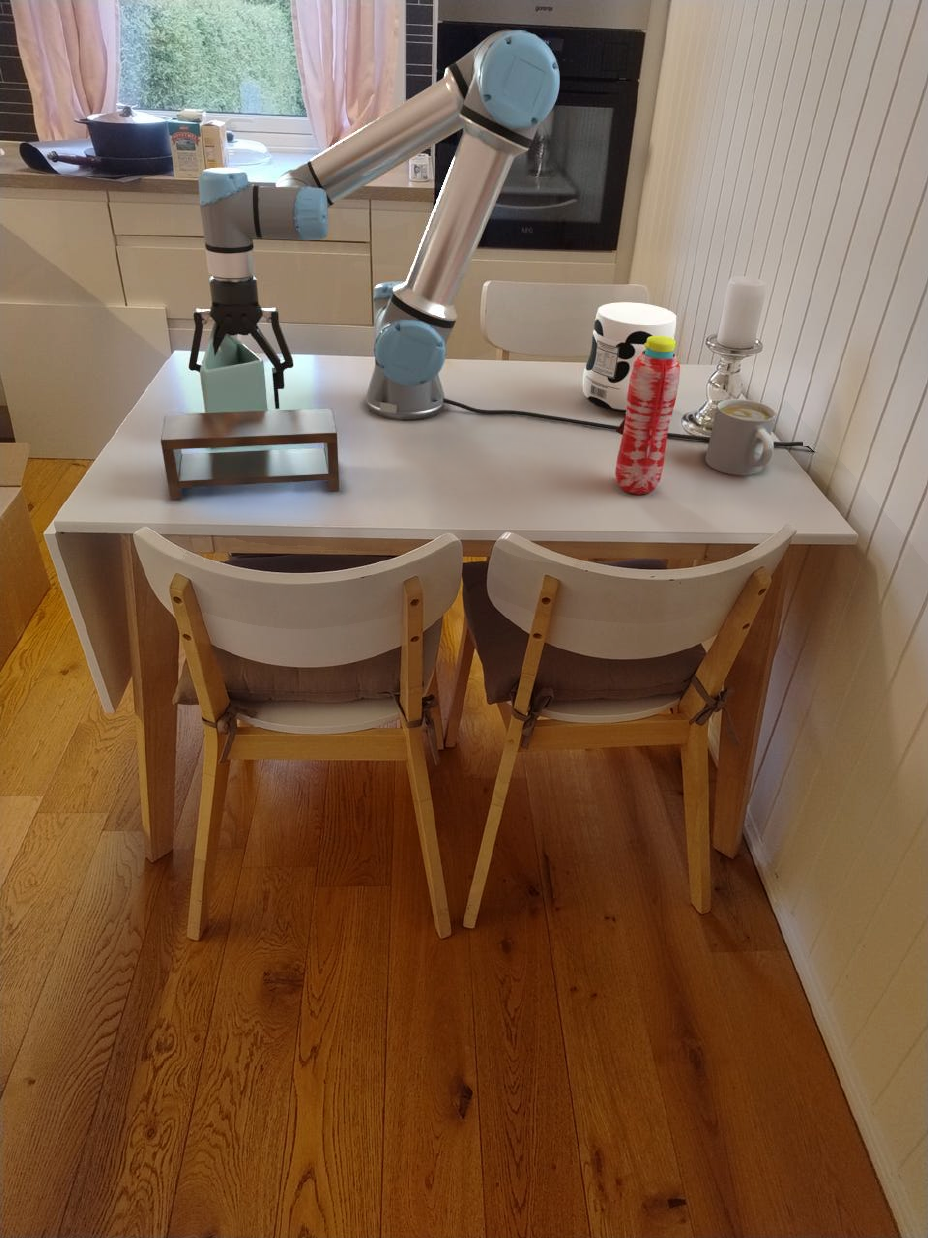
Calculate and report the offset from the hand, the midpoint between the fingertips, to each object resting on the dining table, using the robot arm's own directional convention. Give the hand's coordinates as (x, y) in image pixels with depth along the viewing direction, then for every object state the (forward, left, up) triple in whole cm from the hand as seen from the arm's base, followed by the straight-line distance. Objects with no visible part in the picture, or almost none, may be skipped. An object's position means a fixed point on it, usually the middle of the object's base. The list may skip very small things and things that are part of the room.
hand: (246, 407), depth 154 cm
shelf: (-1, +20, -5) cm, 21 cm away
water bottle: (-63, +28, -5) cm, 69 cm away
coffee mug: (-84, +24, -5) cm, 88 cm away
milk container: (-74, -7, -5) cm, 74 cm away
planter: (0, 0, -5) cm, 5 cm away
